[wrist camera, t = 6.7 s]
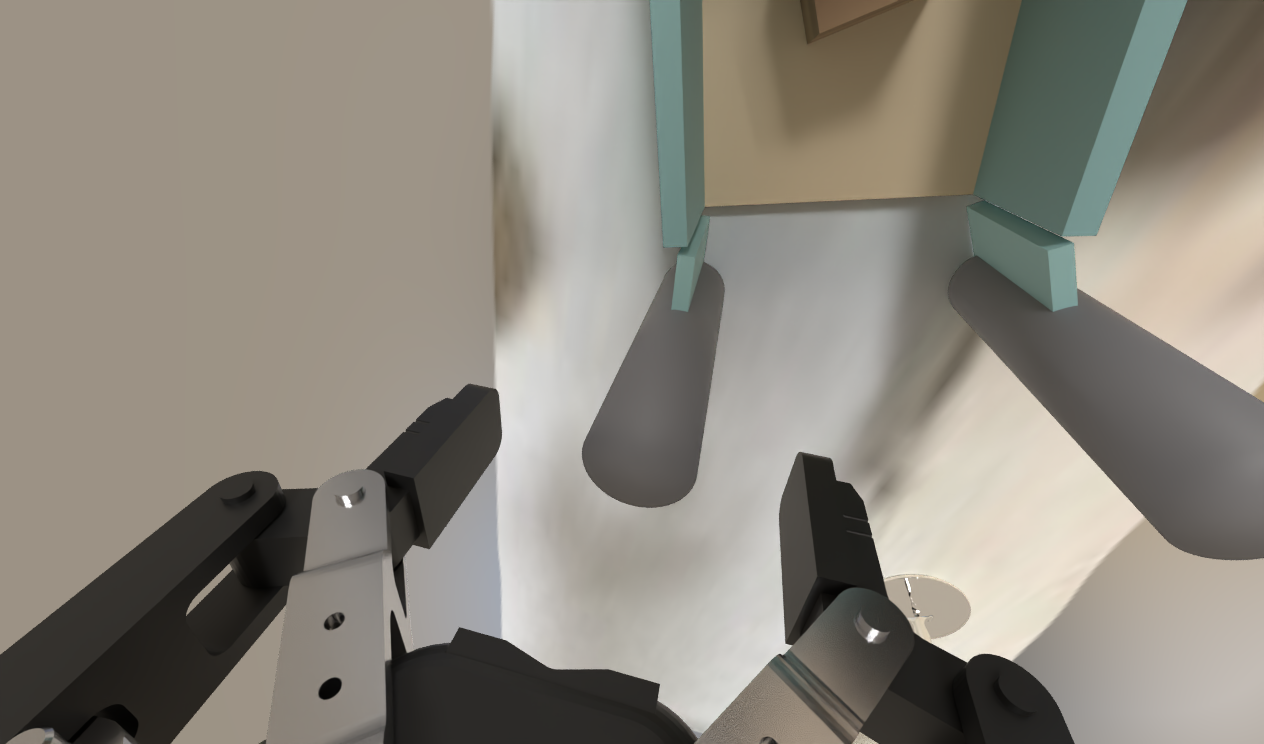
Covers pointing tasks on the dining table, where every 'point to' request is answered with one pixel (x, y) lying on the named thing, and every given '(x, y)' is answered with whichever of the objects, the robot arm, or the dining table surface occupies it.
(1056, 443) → the dining table surface
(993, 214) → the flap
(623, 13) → the dining table surface
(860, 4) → the walnut block
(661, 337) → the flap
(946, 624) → the wineglass
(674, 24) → the teal open box
